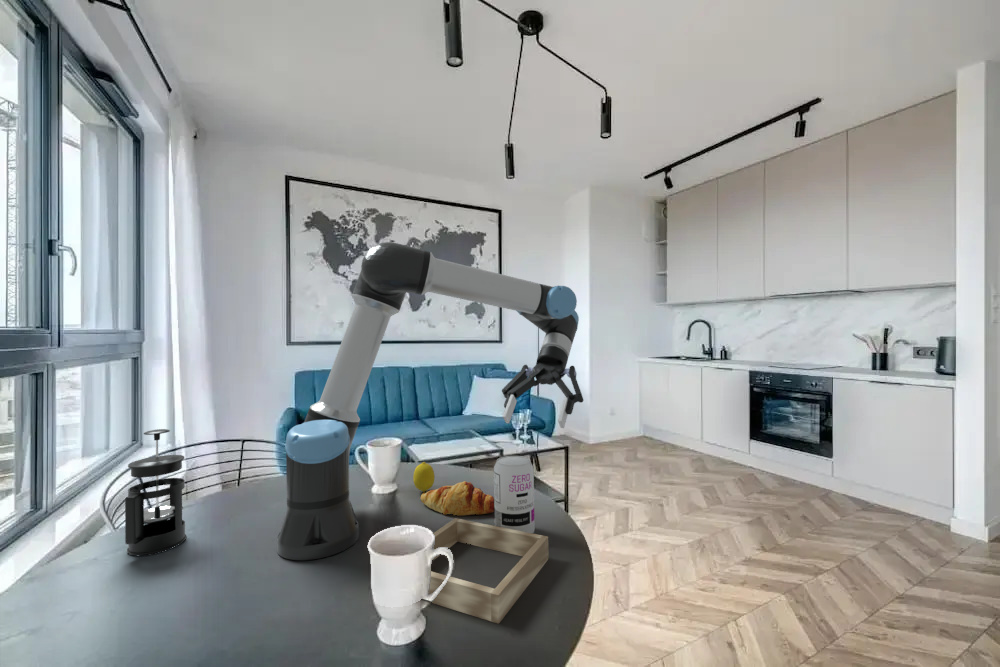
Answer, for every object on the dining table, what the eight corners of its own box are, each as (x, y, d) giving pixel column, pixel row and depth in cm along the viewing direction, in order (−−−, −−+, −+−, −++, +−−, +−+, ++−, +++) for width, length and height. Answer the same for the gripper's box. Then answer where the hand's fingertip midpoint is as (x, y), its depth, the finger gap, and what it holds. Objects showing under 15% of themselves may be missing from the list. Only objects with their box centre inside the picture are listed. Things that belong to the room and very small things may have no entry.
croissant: (415, 523, 104) (406, 499, 101) (432, 491, 112) (424, 467, 109) (499, 532, 97) (491, 507, 94) (510, 497, 106) (504, 472, 102)
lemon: (430, 496, 112) (429, 465, 112) (410, 495, 113) (409, 464, 113) (437, 489, 117) (437, 459, 117) (418, 488, 118) (417, 458, 118)
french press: (156, 533, 93) (156, 425, 93) (199, 532, 93) (198, 424, 93) (105, 561, 81) (104, 437, 81) (154, 560, 81) (153, 436, 81)
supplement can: (511, 521, 96) (509, 453, 96) (542, 531, 90) (541, 459, 91) (486, 534, 89) (485, 461, 89) (519, 546, 84) (517, 468, 84)
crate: (388, 589, 70) (388, 564, 70) (455, 537, 88) (455, 518, 88) (498, 623, 61) (498, 595, 61) (548, 558, 79) (548, 536, 79)
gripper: (604, 365, 110) (589, 436, 96) (514, 363, 121) (489, 427, 107) (599, 344, 105) (582, 416, 91) (506, 344, 116) (479, 408, 102)
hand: (532, 422), depth 99 cm, fingers open, 13 cm apart
